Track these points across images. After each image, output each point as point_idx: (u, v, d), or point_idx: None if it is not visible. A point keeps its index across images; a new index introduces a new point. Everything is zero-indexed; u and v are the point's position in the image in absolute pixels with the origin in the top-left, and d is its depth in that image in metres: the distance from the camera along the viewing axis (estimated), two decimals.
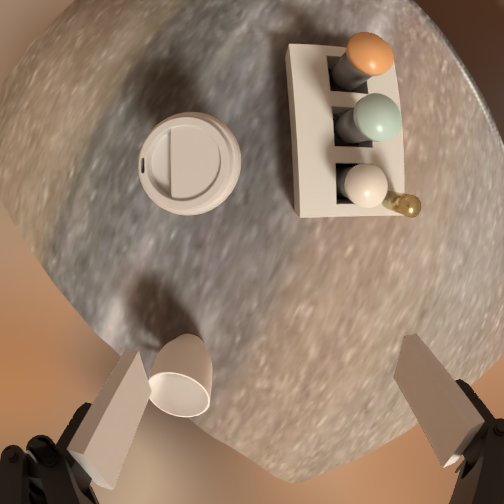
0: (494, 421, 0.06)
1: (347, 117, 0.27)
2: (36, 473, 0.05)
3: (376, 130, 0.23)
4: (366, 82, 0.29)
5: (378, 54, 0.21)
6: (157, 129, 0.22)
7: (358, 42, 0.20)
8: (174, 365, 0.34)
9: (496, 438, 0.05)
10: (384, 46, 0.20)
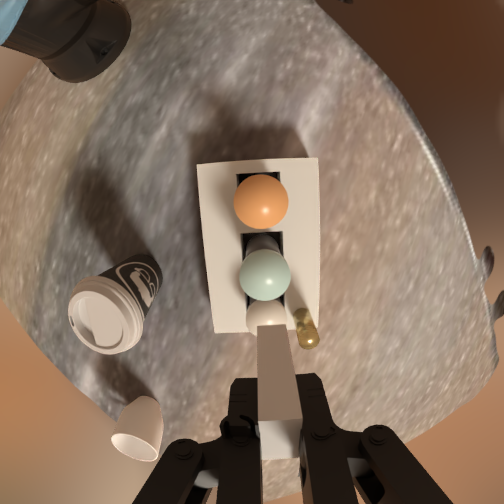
0: (309, 426, 0.08)
1: None
2: (218, 461, 0.07)
3: (259, 291, 0.27)
4: None
5: (268, 203, 0.25)
6: (74, 297, 0.26)
7: (245, 192, 0.25)
8: (129, 428, 0.38)
9: (318, 444, 0.07)
10: (278, 190, 0.25)
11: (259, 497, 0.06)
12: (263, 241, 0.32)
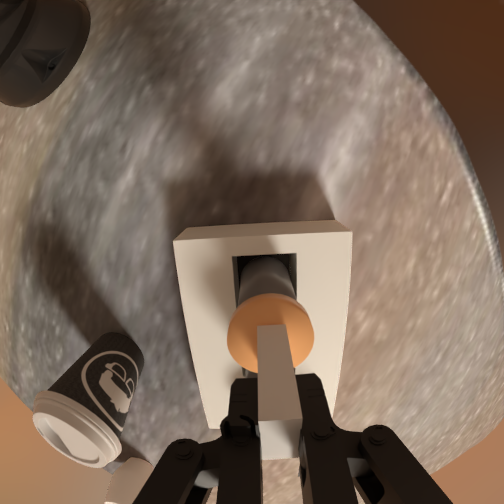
0: (309, 426, 0.08)
1: None
2: (219, 461, 0.07)
3: None
4: (296, 290, 0.23)
5: None
6: (36, 414, 0.16)
7: (245, 329, 0.15)
8: (121, 497, 0.28)
9: (318, 444, 0.07)
10: (299, 325, 0.15)
11: (259, 497, 0.06)
12: None
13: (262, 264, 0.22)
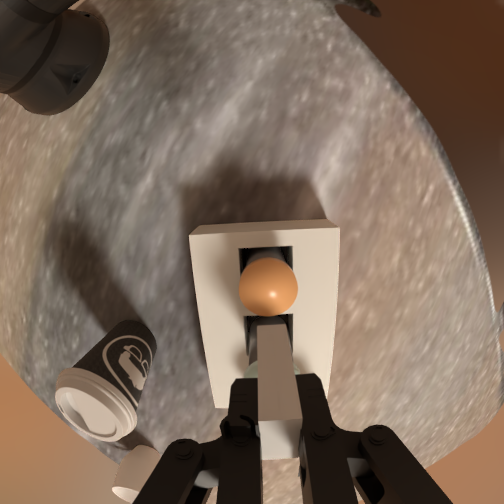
0: (309, 426, 0.08)
1: (249, 354, 0.25)
2: (218, 461, 0.07)
3: None
4: None
5: (276, 292, 0.23)
6: (60, 390, 0.20)
7: (251, 281, 0.23)
8: (129, 482, 0.32)
9: (318, 444, 0.07)
10: (287, 278, 0.23)
11: (259, 497, 0.06)
12: None
13: None
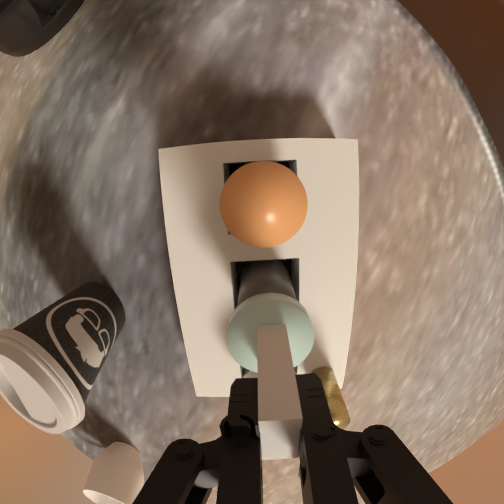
0: (309, 426, 0.08)
1: (238, 300, 0.19)
2: (218, 462, 0.07)
3: None
4: None
5: (276, 208, 0.16)
6: None
7: (238, 190, 0.15)
8: (101, 485, 0.25)
9: (318, 444, 0.07)
10: (291, 186, 0.15)
11: (259, 497, 0.06)
12: (267, 270, 0.20)
13: None
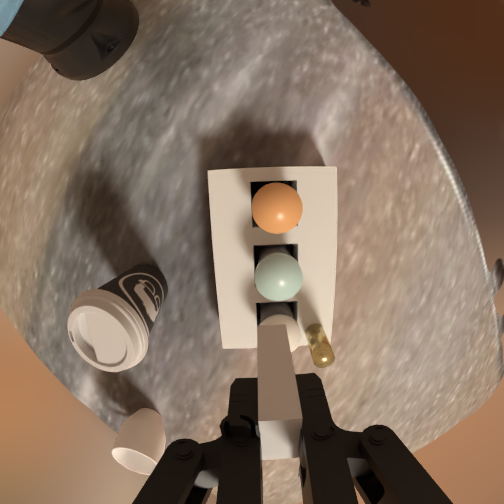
0: (309, 426, 0.08)
1: None
2: (218, 461, 0.07)
3: (273, 292, 0.29)
4: None
5: (284, 210, 0.27)
6: (74, 311, 0.24)
7: (262, 199, 0.27)
8: (130, 442, 0.35)
9: (318, 444, 0.07)
10: (293, 198, 0.26)
11: (259, 497, 0.06)
12: (276, 245, 0.34)
13: None
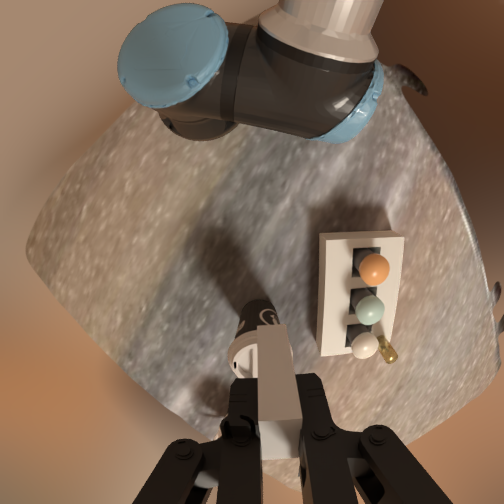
0: (309, 426, 0.08)
1: (352, 298, 0.47)
2: (218, 461, 0.07)
3: (367, 320, 0.43)
4: None
5: (379, 271, 0.40)
6: (244, 348, 0.38)
7: (368, 266, 0.40)
8: None
9: (318, 444, 0.07)
10: (385, 264, 0.40)
11: (259, 497, 0.06)
12: None
13: None
